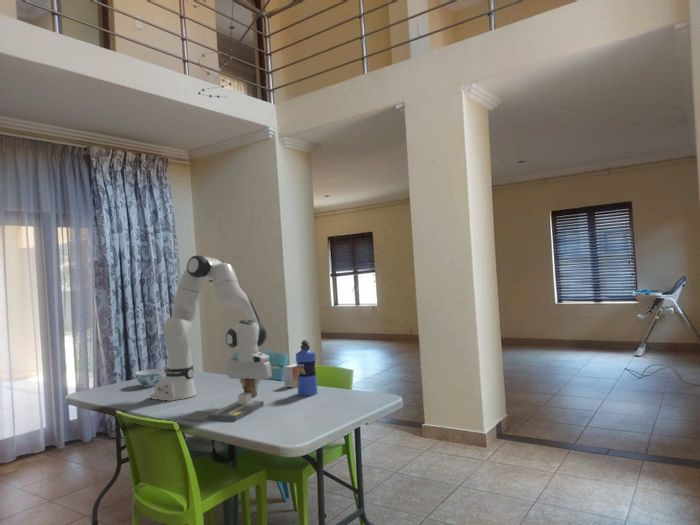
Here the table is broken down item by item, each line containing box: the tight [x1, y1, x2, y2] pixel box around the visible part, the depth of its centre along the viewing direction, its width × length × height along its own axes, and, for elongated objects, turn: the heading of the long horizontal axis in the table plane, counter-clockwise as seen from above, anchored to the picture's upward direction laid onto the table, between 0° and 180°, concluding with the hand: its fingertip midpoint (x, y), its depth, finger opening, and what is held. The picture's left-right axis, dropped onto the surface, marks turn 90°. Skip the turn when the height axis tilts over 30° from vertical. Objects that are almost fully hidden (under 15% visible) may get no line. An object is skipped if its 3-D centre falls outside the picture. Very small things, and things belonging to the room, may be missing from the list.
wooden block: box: [243, 379, 258, 399], centre depth 215 cm, size 4×4×8 cm
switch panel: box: [209, 400, 265, 422], centre depth 205 cm, size 12×22×3 cm, turn 161°
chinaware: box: [134, 368, 165, 388], centre depth 268 cm, size 15×15×8 cm
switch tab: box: [237, 391, 253, 405], centre depth 211 cm, size 4×4×4 cm
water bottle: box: [295, 339, 318, 397], centre depth 231 cm, size 9×9×25 cm
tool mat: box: [179, 410, 215, 422], centre depth 202 cm, size 11×11×1 cm
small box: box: [283, 363, 298, 389], centre depth 248 cm, size 8×6×10 cm
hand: (250, 388), depth 215 cm, fingers closed on wooden block, 4 cm apart
